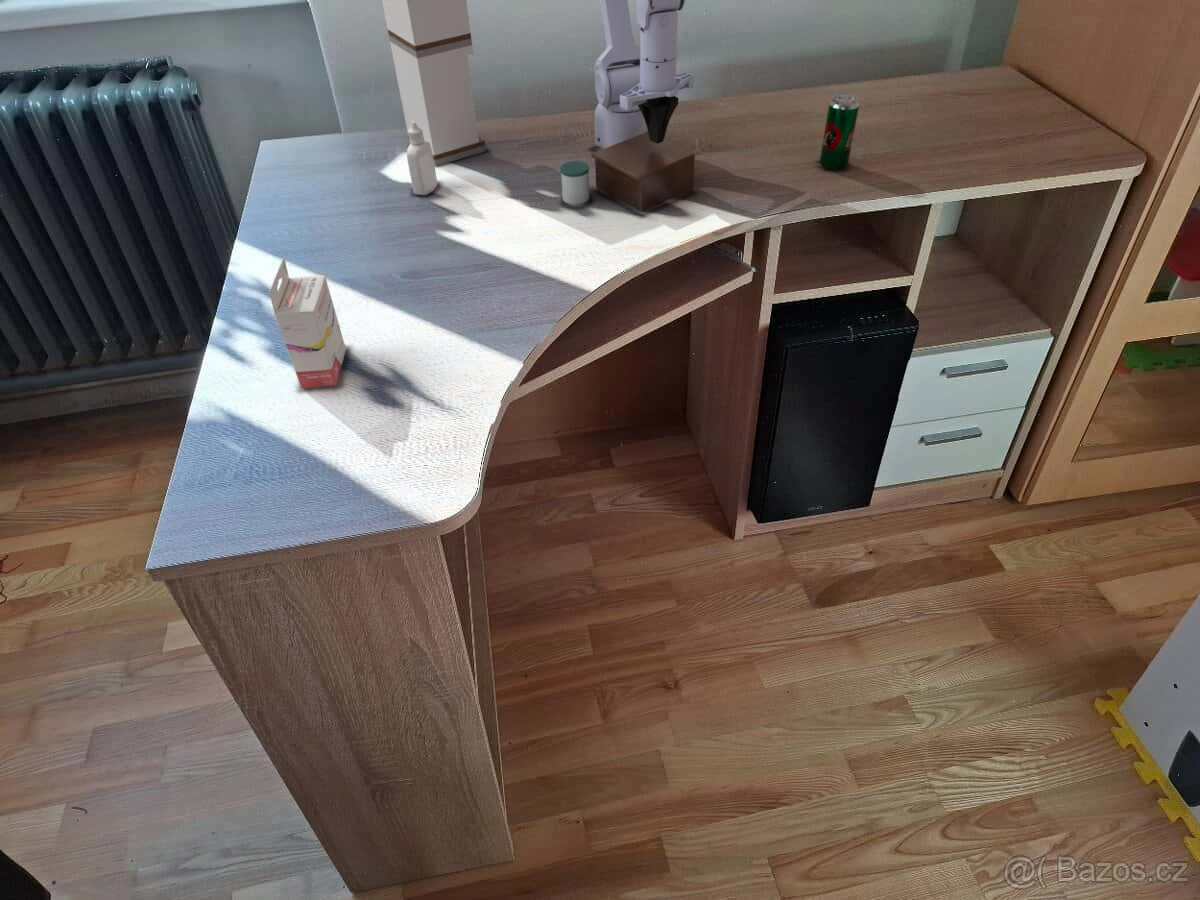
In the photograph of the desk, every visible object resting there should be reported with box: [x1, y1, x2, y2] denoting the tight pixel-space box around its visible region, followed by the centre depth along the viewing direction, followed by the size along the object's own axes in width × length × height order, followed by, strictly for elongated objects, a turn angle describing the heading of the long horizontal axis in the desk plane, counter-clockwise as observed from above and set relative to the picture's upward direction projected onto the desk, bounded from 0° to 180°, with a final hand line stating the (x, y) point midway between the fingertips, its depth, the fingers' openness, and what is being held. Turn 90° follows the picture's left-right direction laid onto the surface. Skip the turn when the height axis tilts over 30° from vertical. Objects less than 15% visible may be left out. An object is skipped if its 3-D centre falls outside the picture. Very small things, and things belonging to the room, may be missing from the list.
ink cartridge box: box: [269, 258, 347, 389], centre depth 104 cm, size 9×5×15 cm, turn 5°
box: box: [594, 156, 696, 213], centre depth 140 cm, size 12×12×6 cm
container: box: [559, 160, 590, 205], centre depth 139 cm, size 5×5×6 cm
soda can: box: [819, 93, 860, 171], centre depth 144 cm, size 5×5×12 cm
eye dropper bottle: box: [406, 121, 438, 196], centre depth 141 cm, size 4×6×12 cm
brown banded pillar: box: [381, 0, 487, 167], centre depth 146 cm, size 11×11×35 cm
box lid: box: [590, 131, 696, 180], centre depth 137 cm, size 13×12×1 cm
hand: (656, 140), depth 138 cm, fingers closed
